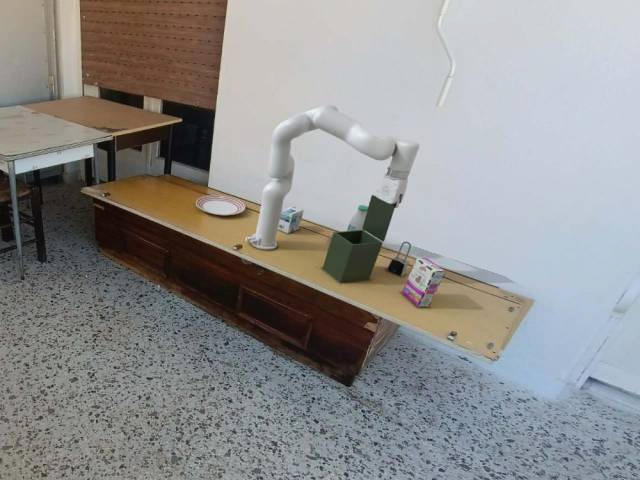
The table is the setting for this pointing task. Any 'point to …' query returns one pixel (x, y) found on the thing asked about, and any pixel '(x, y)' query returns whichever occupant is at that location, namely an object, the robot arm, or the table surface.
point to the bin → (352, 255)
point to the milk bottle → (358, 219)
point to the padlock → (399, 263)
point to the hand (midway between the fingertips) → (382, 216)
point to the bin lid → (378, 218)
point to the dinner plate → (220, 205)
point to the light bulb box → (290, 219)
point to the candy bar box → (423, 282)
